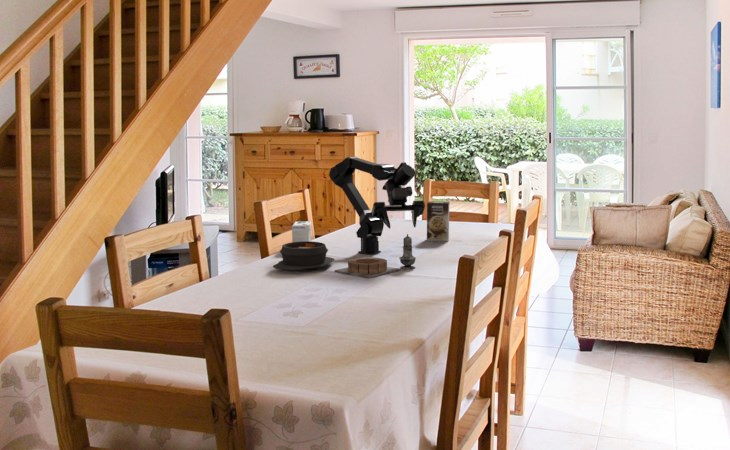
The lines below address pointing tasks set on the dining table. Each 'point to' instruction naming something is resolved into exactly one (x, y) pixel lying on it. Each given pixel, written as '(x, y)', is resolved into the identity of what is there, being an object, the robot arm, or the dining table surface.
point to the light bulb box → (301, 231)
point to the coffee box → (438, 221)
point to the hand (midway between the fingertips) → (402, 227)
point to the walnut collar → (367, 267)
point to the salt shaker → (407, 254)
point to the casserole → (303, 256)
